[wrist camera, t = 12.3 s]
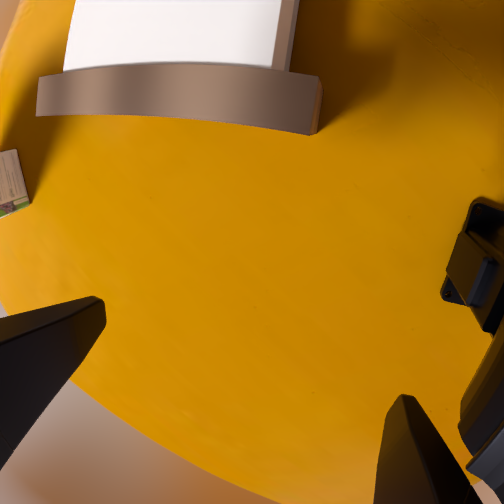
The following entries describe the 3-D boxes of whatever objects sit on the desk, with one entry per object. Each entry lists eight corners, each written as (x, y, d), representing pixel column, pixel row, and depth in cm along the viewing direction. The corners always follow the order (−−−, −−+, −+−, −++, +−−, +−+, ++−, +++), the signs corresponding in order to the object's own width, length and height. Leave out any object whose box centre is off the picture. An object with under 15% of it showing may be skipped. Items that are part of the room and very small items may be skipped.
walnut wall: (323, 90, 16) (318, 76, 11) (316, 133, 17) (309, 135, 12) (90, 78, 18) (39, 77, 14) (87, 112, 19) (35, 116, 15)
